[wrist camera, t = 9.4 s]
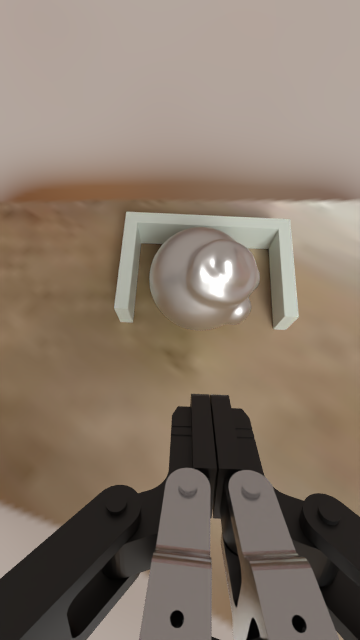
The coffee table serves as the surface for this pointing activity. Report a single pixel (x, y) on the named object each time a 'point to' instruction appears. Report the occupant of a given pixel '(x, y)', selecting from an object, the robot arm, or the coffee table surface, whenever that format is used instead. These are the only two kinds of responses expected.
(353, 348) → the coffee table surface
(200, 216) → the grey u-shaped frame
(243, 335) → the coffee table surface
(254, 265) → the ghost figurine
